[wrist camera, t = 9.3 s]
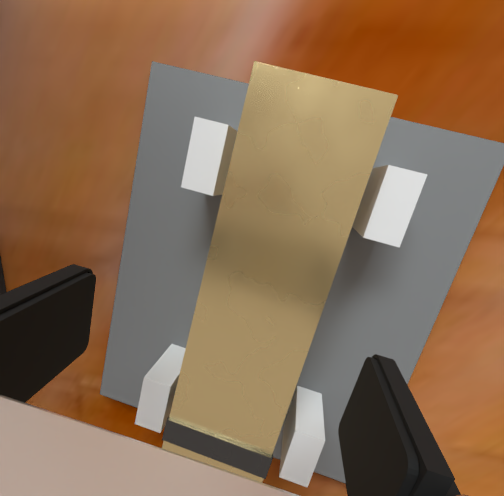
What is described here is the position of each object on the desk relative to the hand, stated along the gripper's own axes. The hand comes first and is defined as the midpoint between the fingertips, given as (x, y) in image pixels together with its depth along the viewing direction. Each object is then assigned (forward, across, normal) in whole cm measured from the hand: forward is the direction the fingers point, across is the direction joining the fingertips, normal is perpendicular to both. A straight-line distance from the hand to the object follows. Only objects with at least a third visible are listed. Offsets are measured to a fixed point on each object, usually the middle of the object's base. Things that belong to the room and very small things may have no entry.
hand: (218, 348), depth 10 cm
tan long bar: (+8, -1, +1) cm, 8 cm away
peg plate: (+9, -1, +1) cm, 9 cm away
